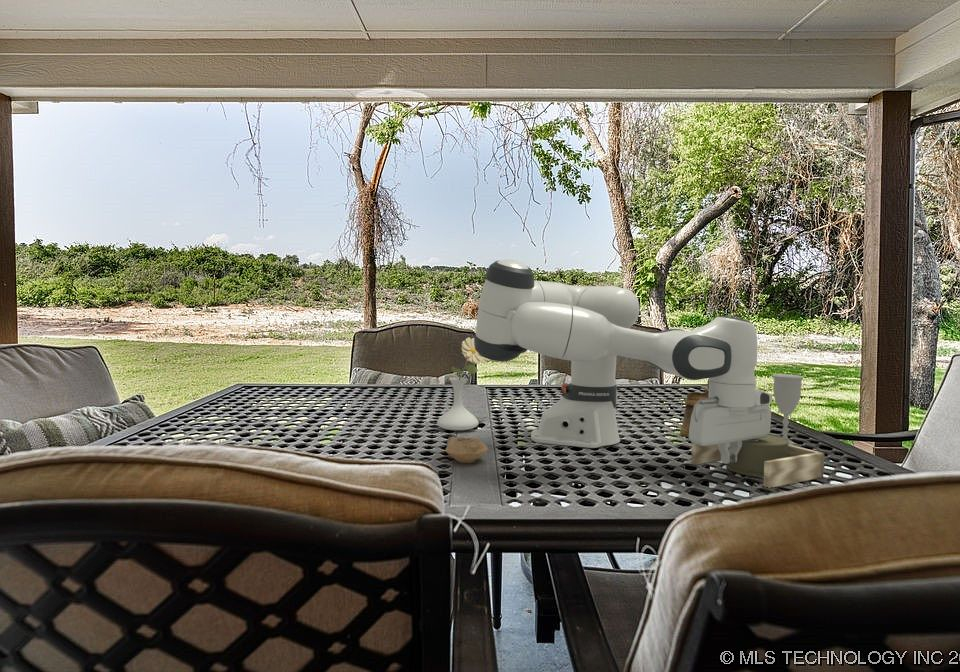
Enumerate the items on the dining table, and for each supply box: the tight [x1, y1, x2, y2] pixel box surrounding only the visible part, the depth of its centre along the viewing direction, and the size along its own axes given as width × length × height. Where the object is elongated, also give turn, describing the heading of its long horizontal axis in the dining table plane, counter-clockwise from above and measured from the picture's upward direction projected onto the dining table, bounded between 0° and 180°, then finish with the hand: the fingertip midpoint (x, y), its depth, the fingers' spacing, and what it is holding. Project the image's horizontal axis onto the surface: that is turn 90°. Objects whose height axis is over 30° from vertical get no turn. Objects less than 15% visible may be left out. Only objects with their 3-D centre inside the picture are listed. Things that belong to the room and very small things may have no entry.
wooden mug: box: [679, 378, 709, 438], centre depth 161 cm, size 9×14×18 cm, turn 114°
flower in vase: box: [436, 337, 485, 431], centre depth 163 cm, size 13×11×25 cm
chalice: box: [772, 373, 804, 446], centre depth 145 cm, size 7×7×18 cm
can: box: [725, 433, 789, 479], centre depth 128 cm, size 12×12×7 cm
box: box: [690, 442, 825, 489], centre depth 128 cm, size 17×19×5 cm
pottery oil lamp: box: [445, 436, 488, 464], centre depth 133 cm, size 9×12×7 cm
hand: (728, 462), depth 124 cm, fingers closed
